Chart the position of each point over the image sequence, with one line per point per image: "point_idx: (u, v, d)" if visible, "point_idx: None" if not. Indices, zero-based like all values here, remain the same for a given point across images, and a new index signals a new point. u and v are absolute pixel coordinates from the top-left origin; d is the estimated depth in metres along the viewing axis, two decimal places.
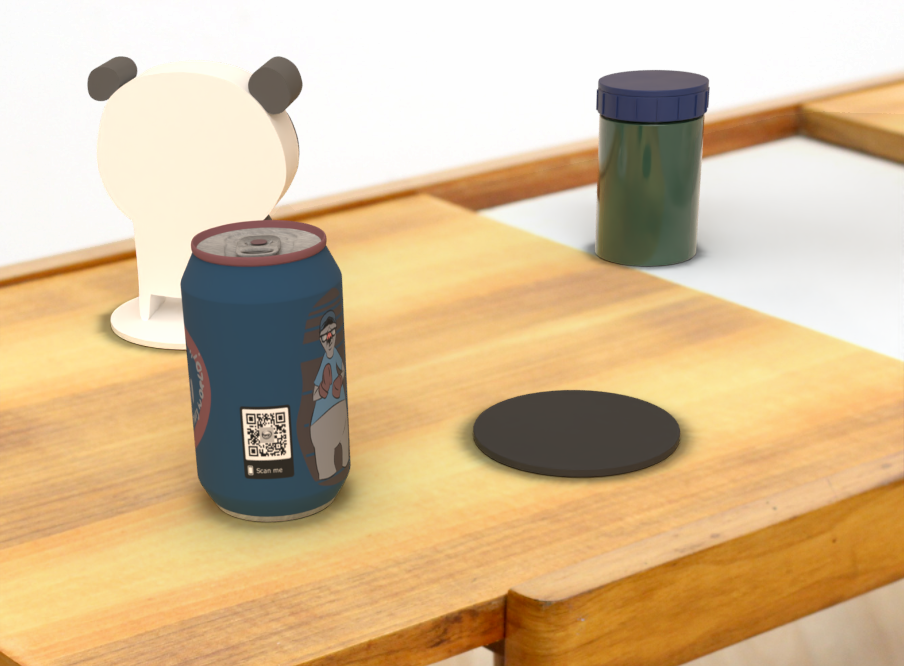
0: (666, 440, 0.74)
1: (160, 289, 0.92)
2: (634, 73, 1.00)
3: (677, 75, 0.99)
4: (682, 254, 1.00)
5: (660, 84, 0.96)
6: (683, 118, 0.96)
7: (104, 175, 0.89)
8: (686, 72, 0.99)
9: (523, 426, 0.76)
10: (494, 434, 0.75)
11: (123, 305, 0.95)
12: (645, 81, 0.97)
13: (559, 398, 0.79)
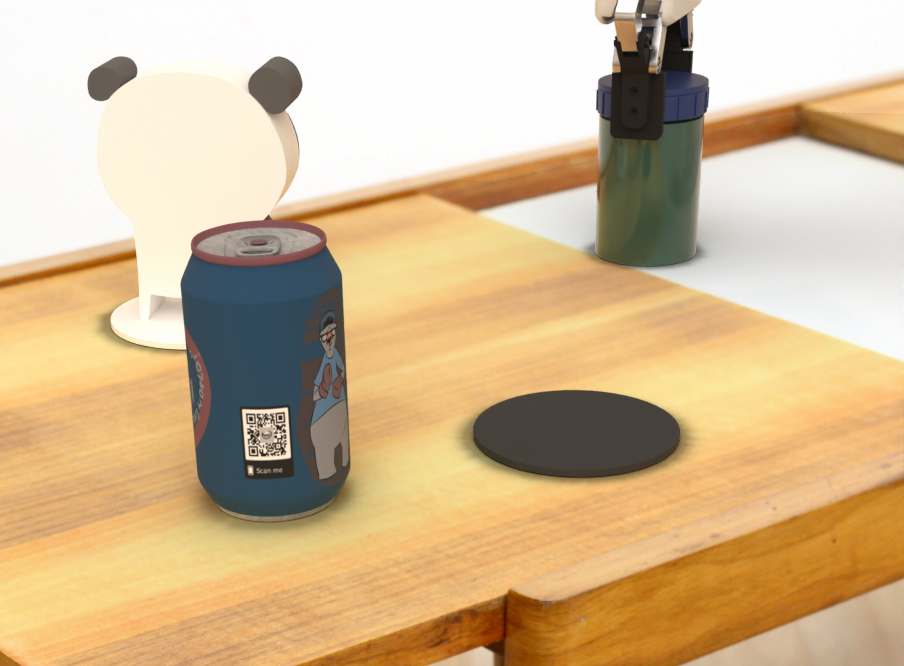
0: (666, 440, 0.74)
1: (160, 289, 0.92)
2: None
3: (677, 75, 0.99)
4: (682, 254, 1.00)
5: None
6: (683, 118, 0.96)
7: (104, 175, 0.89)
8: (686, 72, 0.99)
9: (523, 426, 0.76)
10: (494, 434, 0.75)
11: (123, 305, 0.95)
12: None
13: (559, 398, 0.79)
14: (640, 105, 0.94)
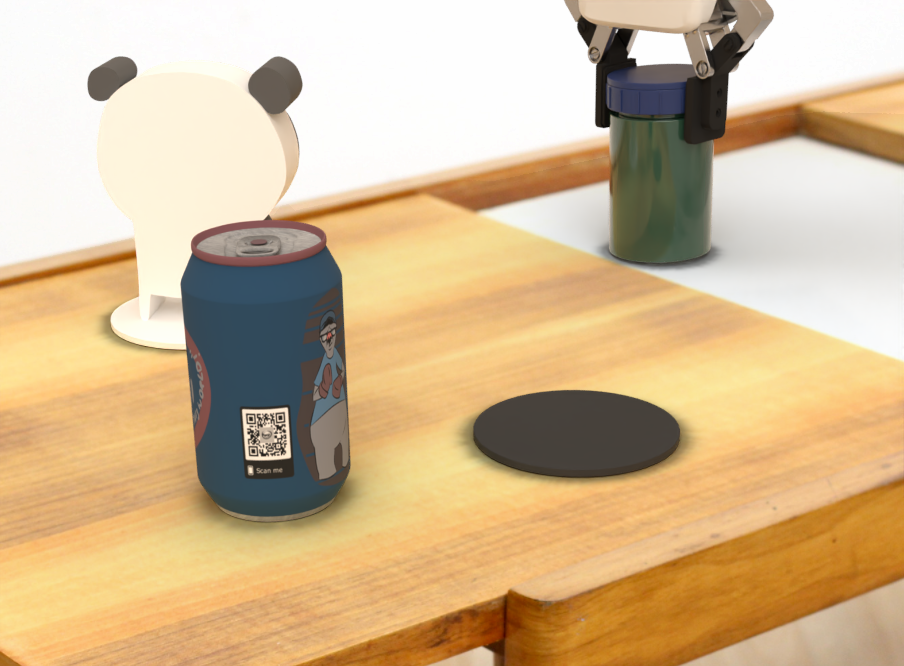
0: (666, 440, 0.74)
1: (160, 289, 0.92)
2: (621, 74, 0.98)
3: (654, 68, 0.99)
4: (697, 249, 1.00)
5: (686, 73, 0.97)
6: None
7: (104, 175, 0.89)
8: (644, 65, 1.00)
9: (523, 426, 0.76)
10: (494, 434, 0.75)
11: (123, 305, 0.95)
12: (665, 75, 0.97)
13: (559, 398, 0.79)
14: (723, 105, 0.95)
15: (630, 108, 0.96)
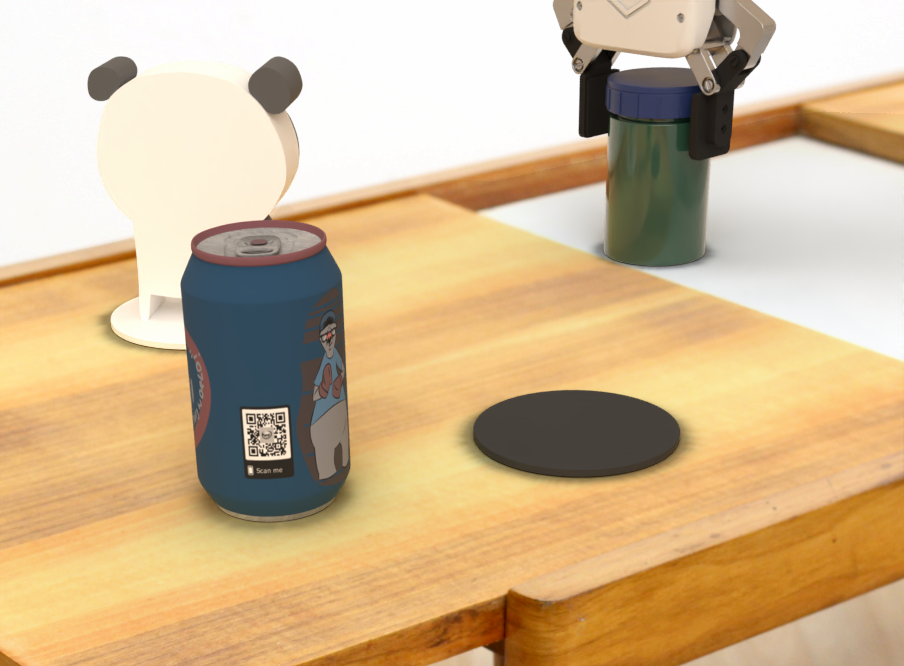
0: (666, 440, 0.74)
1: (160, 289, 0.92)
2: (622, 76, 0.98)
3: (655, 71, 0.99)
4: (691, 254, 1.00)
5: (686, 78, 0.97)
6: None
7: (104, 175, 0.89)
8: (646, 68, 1.00)
9: (523, 426, 0.76)
10: (494, 434, 0.75)
11: (123, 305, 0.95)
12: (665, 79, 0.97)
13: (559, 398, 0.79)
14: (728, 121, 0.95)
15: (629, 111, 0.96)
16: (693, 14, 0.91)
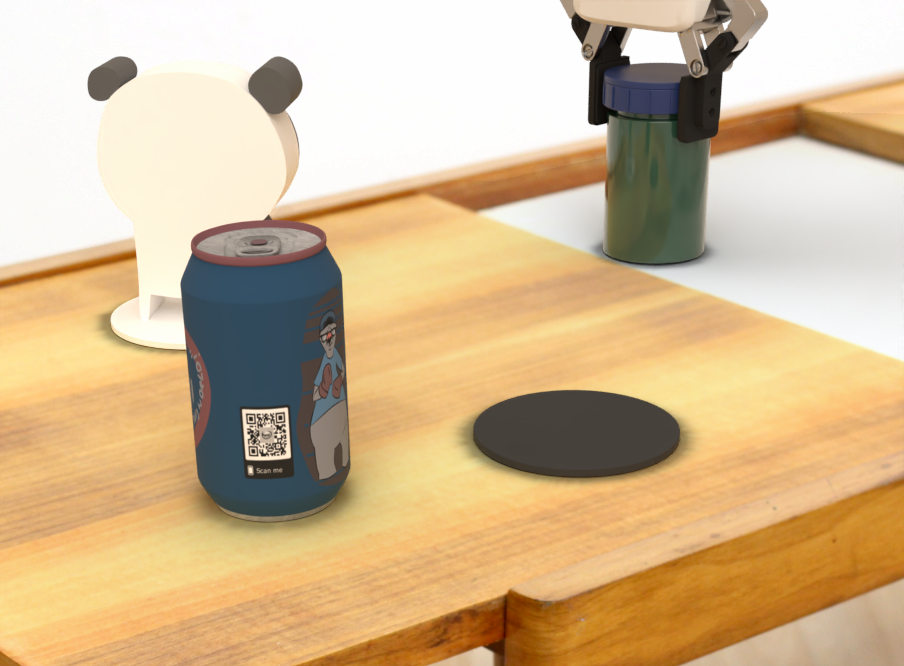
0: (666, 440, 0.74)
1: (160, 289, 0.92)
2: (637, 79, 0.96)
3: (626, 70, 0.98)
4: (691, 251, 1.00)
5: (676, 69, 0.98)
6: None
7: (104, 175, 0.89)
8: (608, 70, 0.99)
9: (523, 426, 0.76)
10: (494, 434, 0.75)
11: (123, 305, 0.95)
12: (670, 73, 0.97)
13: (559, 398, 0.79)
14: (716, 104, 0.95)
15: None
16: None
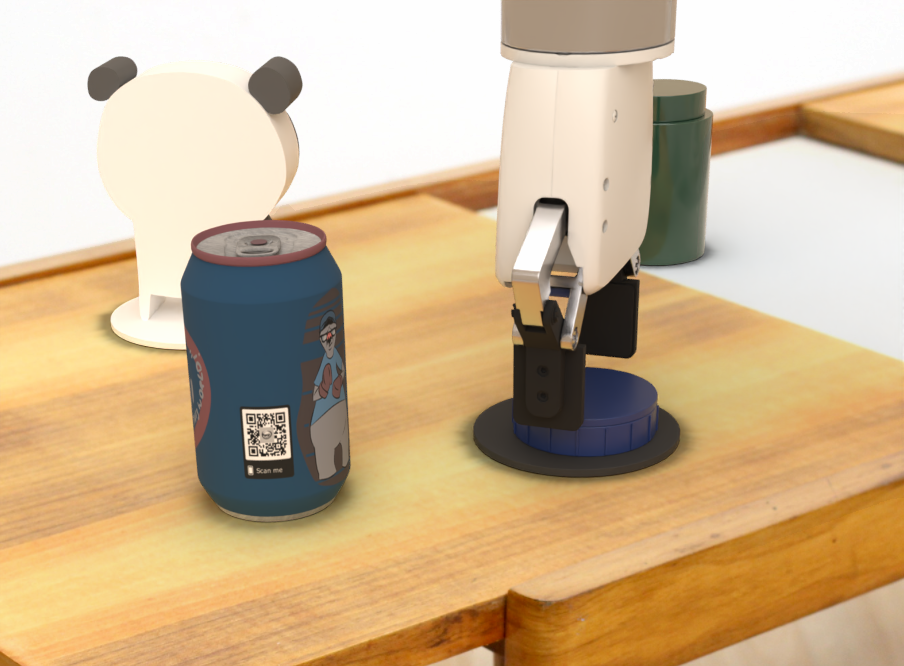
0: (666, 440, 0.74)
1: (160, 289, 0.92)
2: None
3: None
4: (691, 253, 1.00)
5: (616, 395, 0.74)
6: None
7: (104, 175, 0.89)
8: None
9: None
10: (494, 434, 0.75)
11: (123, 305, 0.95)
12: (588, 397, 0.74)
13: None
14: (551, 388, 0.69)
15: (539, 443, 0.73)
16: (499, 237, 0.68)
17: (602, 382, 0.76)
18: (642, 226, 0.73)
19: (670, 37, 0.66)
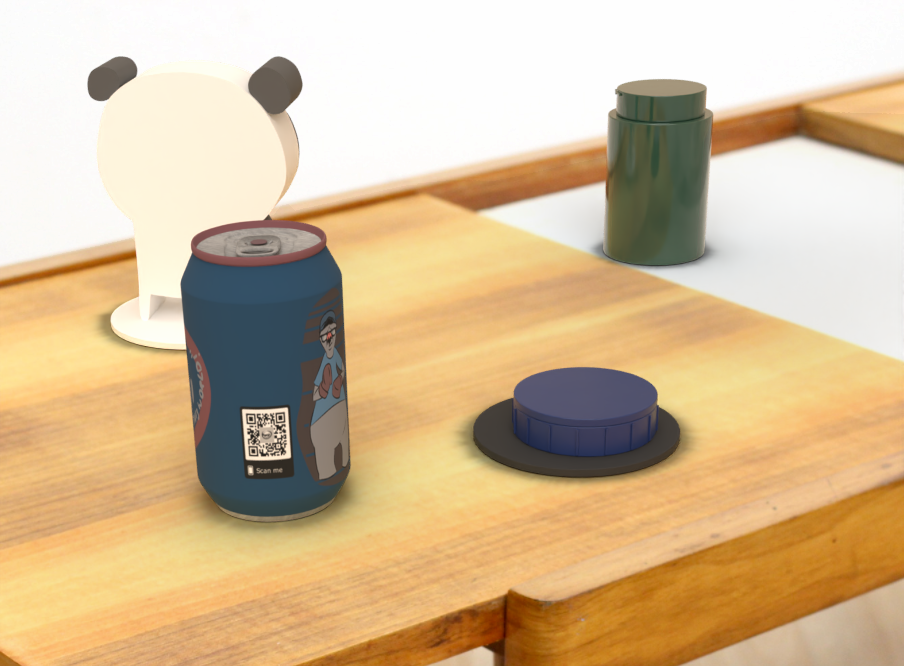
0: (666, 440, 0.74)
1: (160, 289, 0.92)
2: (532, 389, 0.75)
3: (577, 376, 0.76)
4: (691, 253, 1.00)
5: (616, 395, 0.74)
6: None
7: (104, 175, 0.89)
8: (566, 368, 0.77)
9: None
10: (494, 434, 0.75)
11: (123, 305, 0.95)
12: (588, 397, 0.74)
13: None
14: None
15: (539, 443, 0.73)
16: None
17: (602, 382, 0.76)
18: None
19: None
